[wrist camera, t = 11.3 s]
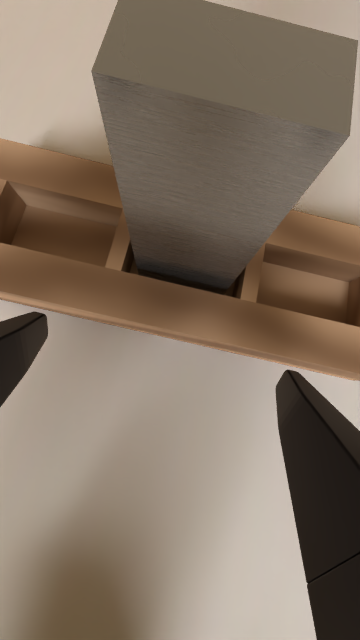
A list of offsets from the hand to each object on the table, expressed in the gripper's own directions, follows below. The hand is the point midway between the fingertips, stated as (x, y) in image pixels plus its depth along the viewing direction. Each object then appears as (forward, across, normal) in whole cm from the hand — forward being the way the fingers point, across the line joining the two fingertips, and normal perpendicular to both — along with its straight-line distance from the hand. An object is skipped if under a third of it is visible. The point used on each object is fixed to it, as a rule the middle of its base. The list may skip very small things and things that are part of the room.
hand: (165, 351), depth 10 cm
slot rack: (+11, 0, +2) cm, 11 cm away
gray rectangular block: (+10, 0, +1) cm, 11 cm away
